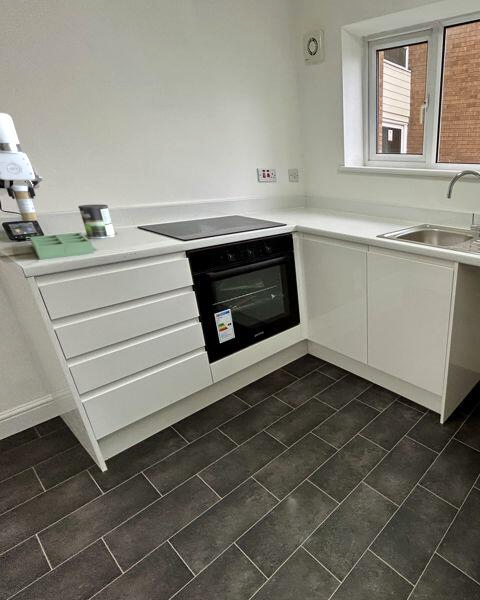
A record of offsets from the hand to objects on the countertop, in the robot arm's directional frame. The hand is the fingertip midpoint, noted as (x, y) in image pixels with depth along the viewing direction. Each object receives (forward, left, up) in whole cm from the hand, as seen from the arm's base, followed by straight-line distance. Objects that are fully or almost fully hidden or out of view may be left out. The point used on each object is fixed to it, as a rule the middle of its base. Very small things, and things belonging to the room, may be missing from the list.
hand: (23, 198), depth 139 cm
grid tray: (+5, -18, -19) cm, 27 cm away
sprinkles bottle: (0, 0, -9) cm, 9 cm away
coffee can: (+21, +5, -19) cm, 29 cm away
